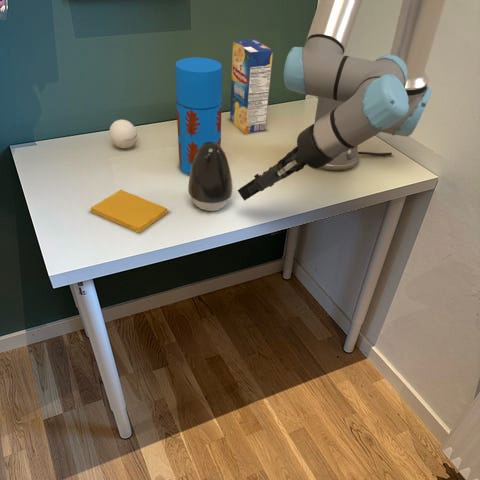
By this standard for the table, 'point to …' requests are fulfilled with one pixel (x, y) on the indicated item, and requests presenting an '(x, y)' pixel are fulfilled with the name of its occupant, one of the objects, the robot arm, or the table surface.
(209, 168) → the black glossy oval body
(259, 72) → the cracker box
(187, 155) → the thermos
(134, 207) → the mustard mat
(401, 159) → the table surface
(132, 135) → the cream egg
